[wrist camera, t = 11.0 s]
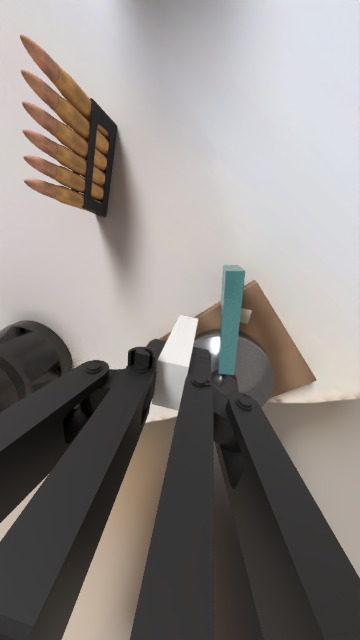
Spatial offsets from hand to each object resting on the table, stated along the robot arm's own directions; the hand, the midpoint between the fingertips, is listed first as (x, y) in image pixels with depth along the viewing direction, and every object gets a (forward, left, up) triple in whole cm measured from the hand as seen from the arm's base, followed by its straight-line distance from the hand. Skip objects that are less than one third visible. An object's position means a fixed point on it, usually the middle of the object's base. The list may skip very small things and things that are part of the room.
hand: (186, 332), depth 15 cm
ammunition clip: (-2, +21, -16) cm, 26 cm away
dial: (-1, -8, -13) cm, 15 cm away
